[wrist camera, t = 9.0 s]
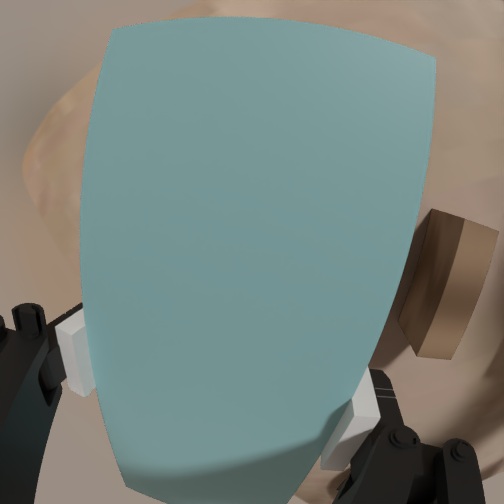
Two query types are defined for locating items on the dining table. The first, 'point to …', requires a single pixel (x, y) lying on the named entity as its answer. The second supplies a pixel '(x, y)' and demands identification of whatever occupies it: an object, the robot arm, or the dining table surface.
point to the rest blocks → (446, 284)
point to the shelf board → (243, 242)
